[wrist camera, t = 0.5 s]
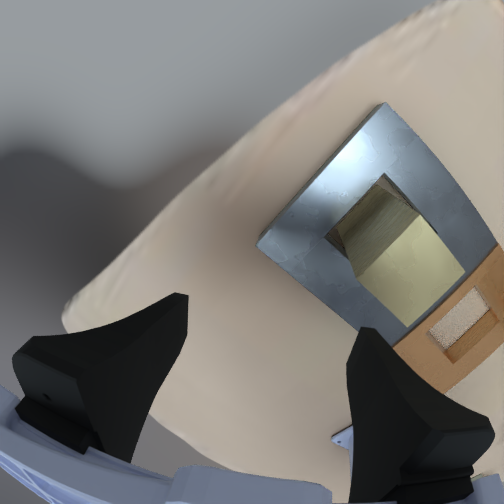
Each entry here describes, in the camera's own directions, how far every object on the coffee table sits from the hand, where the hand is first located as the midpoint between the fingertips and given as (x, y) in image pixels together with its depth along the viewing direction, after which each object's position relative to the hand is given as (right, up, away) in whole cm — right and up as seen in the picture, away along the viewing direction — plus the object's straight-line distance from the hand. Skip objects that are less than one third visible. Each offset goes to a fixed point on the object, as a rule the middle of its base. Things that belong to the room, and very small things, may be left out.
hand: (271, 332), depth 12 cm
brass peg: (+8, +5, +8) cm, 12 cm away
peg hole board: (+12, +2, +8) cm, 15 cm away
